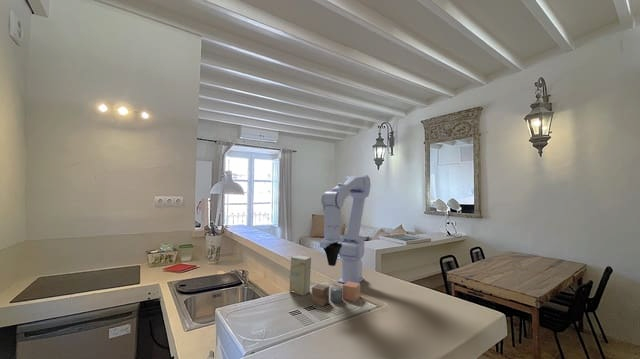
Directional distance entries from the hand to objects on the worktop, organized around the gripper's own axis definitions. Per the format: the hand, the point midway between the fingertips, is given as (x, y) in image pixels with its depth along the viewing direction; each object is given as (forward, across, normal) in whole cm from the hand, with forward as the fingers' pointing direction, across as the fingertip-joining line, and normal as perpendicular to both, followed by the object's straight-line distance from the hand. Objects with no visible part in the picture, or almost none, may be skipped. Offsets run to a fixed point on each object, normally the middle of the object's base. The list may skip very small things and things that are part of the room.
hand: (332, 265), depth 86 cm
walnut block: (+10, -8, 0) cm, 13 cm away
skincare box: (+10, -4, +11) cm, 15 cm away
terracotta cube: (+10, +2, -7) cm, 12 cm away
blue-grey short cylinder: (+10, -3, -3) cm, 11 cm away
